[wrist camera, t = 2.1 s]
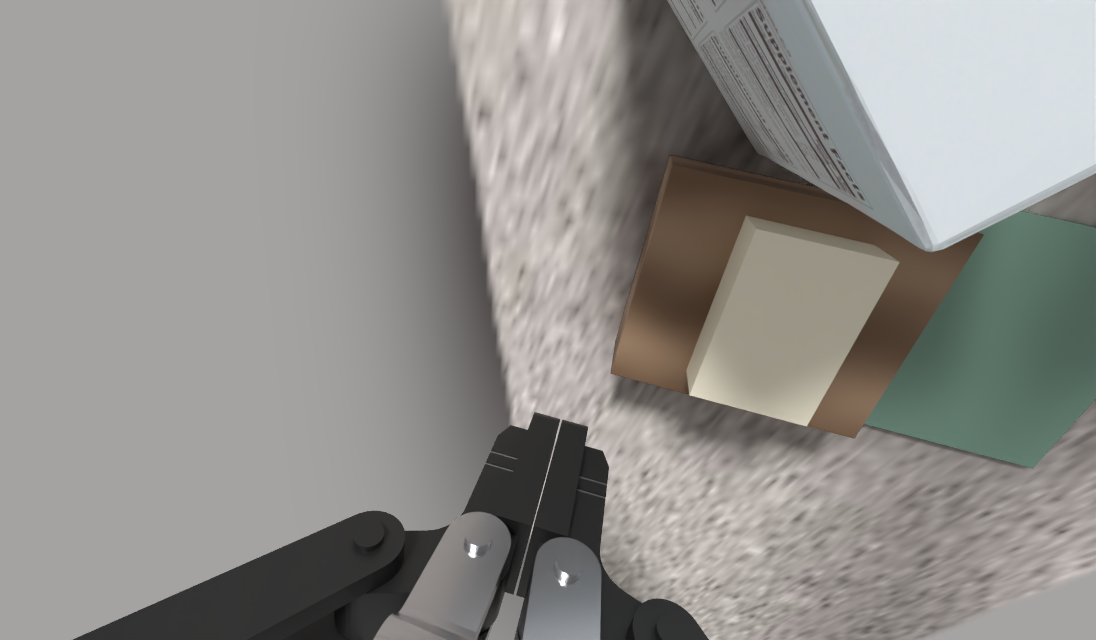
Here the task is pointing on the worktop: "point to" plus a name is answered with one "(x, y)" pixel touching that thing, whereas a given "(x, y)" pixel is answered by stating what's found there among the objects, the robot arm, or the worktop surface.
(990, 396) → the green mat
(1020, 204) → the supplement box
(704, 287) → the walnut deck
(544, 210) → the worktop surface
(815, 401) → the cream tile
